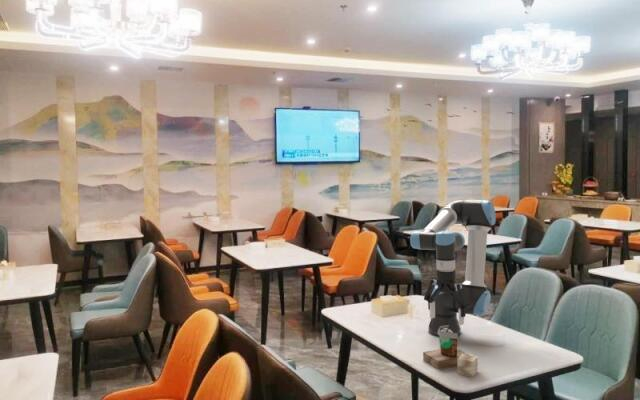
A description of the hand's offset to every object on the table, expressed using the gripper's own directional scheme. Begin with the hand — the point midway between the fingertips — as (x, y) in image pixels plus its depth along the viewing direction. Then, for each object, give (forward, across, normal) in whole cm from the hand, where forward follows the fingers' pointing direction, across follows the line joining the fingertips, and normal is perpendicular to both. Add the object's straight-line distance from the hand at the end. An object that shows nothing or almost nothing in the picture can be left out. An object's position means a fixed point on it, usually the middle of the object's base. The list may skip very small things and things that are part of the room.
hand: (446, 321), depth 214 cm
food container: (+14, 0, -1) cm, 14 cm away
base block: (+17, 0, -1) cm, 17 cm away
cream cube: (+17, +12, -4) cm, 21 cm away
